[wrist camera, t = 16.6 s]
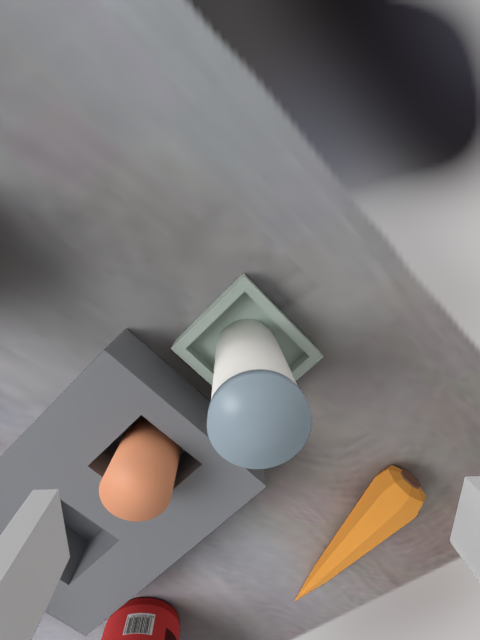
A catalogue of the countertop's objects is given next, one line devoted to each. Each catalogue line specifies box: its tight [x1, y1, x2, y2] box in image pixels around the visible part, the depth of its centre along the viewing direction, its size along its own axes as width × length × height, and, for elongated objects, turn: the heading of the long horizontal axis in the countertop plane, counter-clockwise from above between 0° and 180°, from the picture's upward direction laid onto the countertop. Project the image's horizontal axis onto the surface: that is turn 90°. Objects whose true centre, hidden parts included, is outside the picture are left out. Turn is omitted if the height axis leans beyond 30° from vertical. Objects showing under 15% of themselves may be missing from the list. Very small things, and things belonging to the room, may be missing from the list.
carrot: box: [295, 465, 426, 601], centre depth 32 cm, size 20×4×4 cm, turn 152°
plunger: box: [99, 415, 182, 522], centre depth 25 cm, size 5×5×6 cm
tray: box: [171, 273, 324, 385], centre depth 26 cm, size 9×8×2 cm
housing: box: [0, 328, 266, 636], centre depth 28 cm, size 16×22×5 cm
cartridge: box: [207, 319, 312, 469], centre depth 21 cm, size 5×5×11 cm
